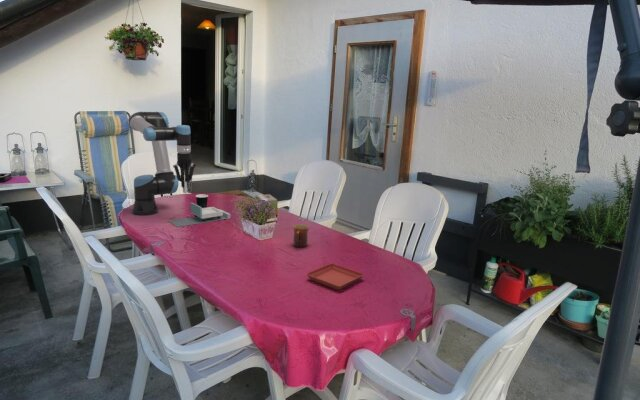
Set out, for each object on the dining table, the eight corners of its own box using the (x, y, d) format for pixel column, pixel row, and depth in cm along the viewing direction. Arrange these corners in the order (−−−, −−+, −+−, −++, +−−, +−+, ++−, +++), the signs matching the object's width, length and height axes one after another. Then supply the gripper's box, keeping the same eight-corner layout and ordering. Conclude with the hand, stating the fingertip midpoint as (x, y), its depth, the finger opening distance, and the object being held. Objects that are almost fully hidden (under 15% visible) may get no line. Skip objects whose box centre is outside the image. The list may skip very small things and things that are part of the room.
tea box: (254, 217, 273) (254, 194, 270) (270, 216, 277) (270, 193, 274) (262, 224, 260) (262, 200, 257) (277, 222, 264) (278, 199, 261)
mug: (294, 241, 231) (294, 223, 228) (310, 243, 229) (311, 225, 227) (288, 249, 219) (288, 230, 217) (305, 251, 218) (305, 231, 215)
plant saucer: (331, 269, 197) (331, 262, 197) (364, 280, 186) (364, 273, 186) (305, 280, 184) (305, 273, 183) (339, 294, 173) (339, 286, 172)
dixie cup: (202, 214, 275) (201, 197, 272) (193, 212, 279) (192, 195, 276) (211, 211, 282) (210, 195, 279) (202, 209, 285) (201, 193, 283)
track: (167, 221, 257) (167, 216, 256) (220, 213, 279) (219, 209, 278) (177, 227, 247) (177, 222, 246) (230, 218, 268) (230, 214, 268)
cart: (190, 216, 266) (190, 202, 264) (212, 213, 275) (212, 199, 273) (200, 222, 256) (200, 207, 254) (222, 218, 265) (222, 204, 263)
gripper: (175, 154, 241) (177, 195, 246) (197, 152, 249) (198, 192, 255) (170, 152, 246) (171, 192, 252) (191, 151, 254) (192, 190, 260)
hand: (185, 192), depth 253 cm, fingers closed
